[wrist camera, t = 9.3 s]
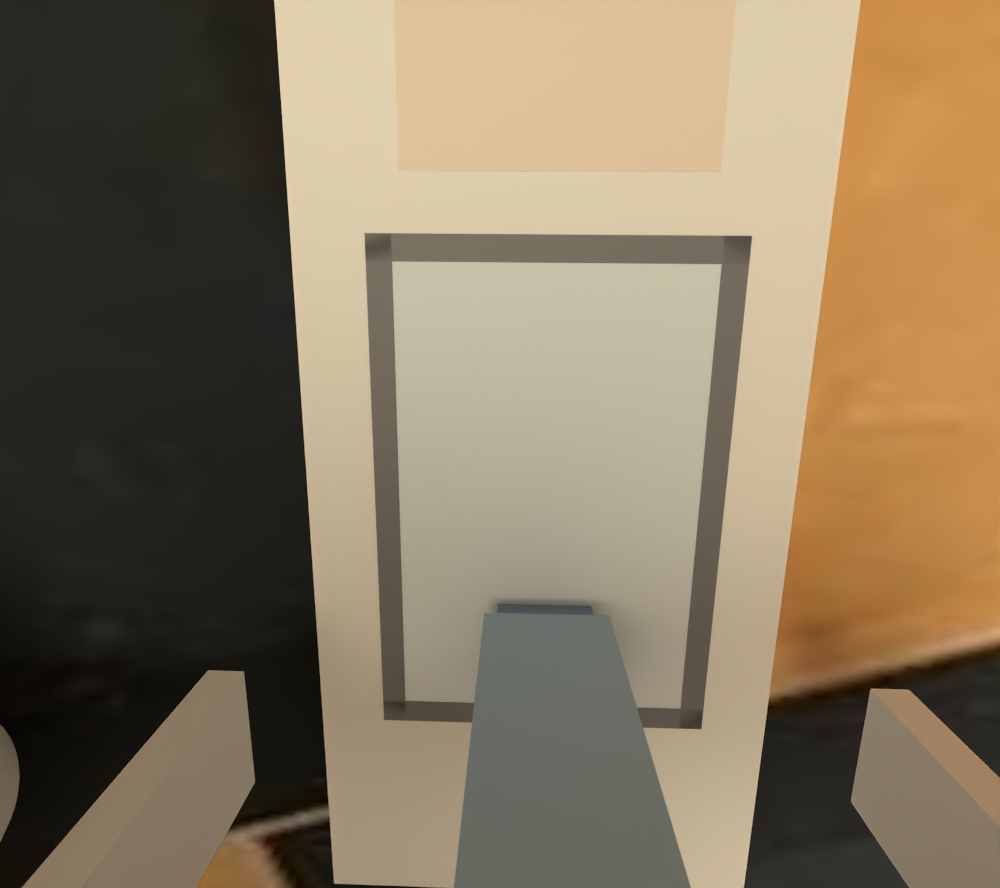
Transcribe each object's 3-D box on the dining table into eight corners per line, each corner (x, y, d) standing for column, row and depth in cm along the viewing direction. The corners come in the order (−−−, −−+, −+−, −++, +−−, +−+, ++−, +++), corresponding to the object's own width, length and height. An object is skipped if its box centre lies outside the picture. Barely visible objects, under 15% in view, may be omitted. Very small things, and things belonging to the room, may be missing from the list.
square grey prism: (484, 696, 16) (385, 1842, 4) (484, 590, 15) (366, 1602, 3) (599, 699, 16) (846, 1877, 4) (605, 593, 15) (931, 1645, 3)
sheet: (338, 870, 18) (333, 885, 17) (277, -52, 12) (269, -65, 12) (737, 885, 17) (742, 899, 17) (857, -55, 12) (870, -69, 11)
